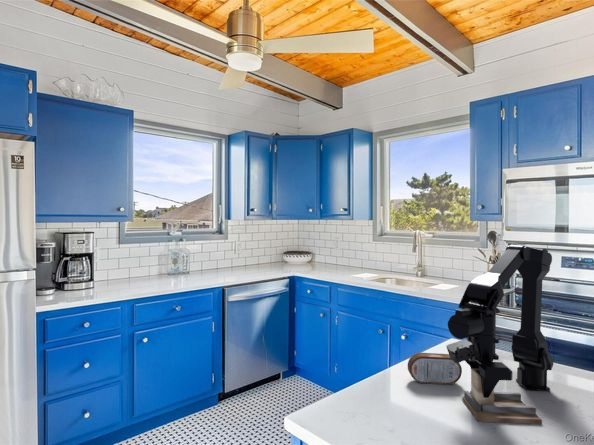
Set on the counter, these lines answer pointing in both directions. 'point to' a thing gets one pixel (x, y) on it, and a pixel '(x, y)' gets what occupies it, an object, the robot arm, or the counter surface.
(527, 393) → the counter surface
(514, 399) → the track
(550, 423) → the counter surface
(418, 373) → the tin
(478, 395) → the block
